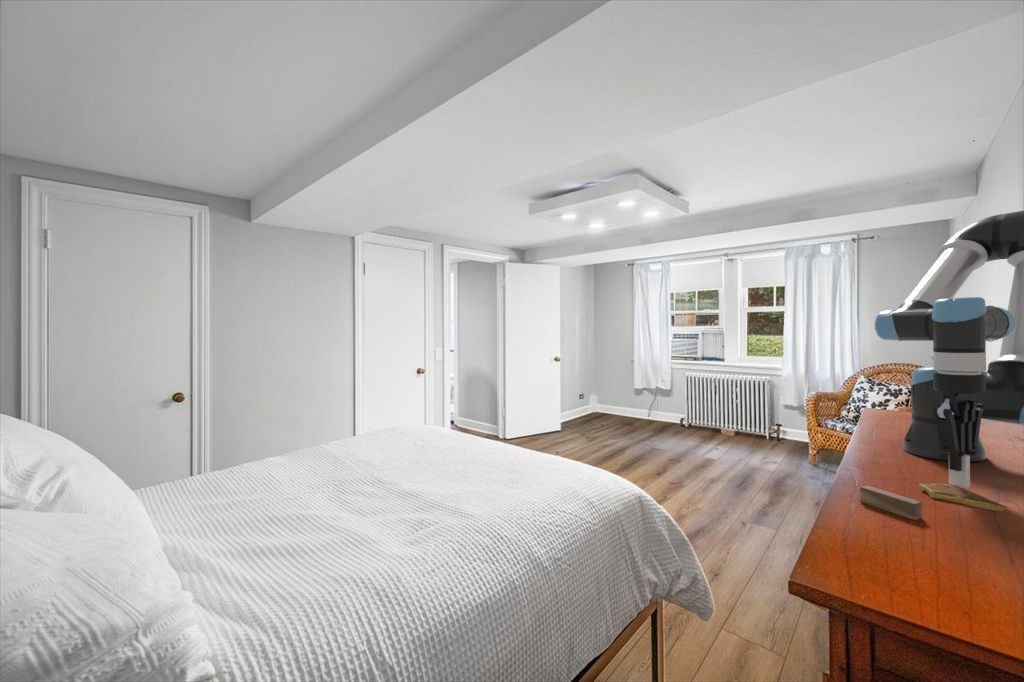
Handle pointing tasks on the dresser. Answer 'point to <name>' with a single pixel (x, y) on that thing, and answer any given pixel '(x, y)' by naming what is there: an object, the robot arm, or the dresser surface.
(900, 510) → the walnut rail
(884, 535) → the dresser surface
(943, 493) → the shard
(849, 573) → the dresser surface
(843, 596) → the dresser surface
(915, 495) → the dresser surface
